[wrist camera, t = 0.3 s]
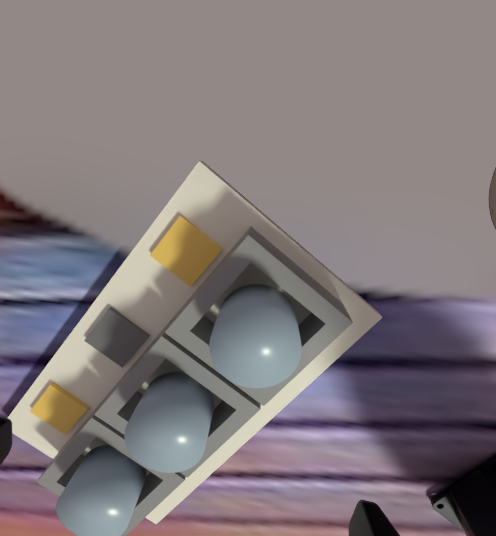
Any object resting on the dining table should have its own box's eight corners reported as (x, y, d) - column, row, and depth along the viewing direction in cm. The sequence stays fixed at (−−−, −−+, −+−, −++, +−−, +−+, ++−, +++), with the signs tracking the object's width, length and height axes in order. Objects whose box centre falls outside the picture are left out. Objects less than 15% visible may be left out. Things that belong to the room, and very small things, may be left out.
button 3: (159, 469, 22) (142, 514, 20) (123, 504, 24) (103, 551, 21) (104, 433, 22) (80, 474, 19) (71, 471, 23) (43, 514, 20)
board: (378, 311, 21) (398, 338, 18) (159, 514, 27) (145, 560, 24) (202, 161, 19) (188, 160, 16) (9, 418, 25) (-28, 454, 22)
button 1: (313, 318, 18) (321, 346, 16) (261, 368, 20) (260, 403, 17) (252, 268, 18) (249, 288, 15) (202, 323, 19) (191, 352, 16)
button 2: (228, 401, 20) (222, 439, 18) (186, 443, 22) (173, 485, 19) (171, 359, 20) (154, 392, 17) (130, 404, 21) (108, 442, 18)
